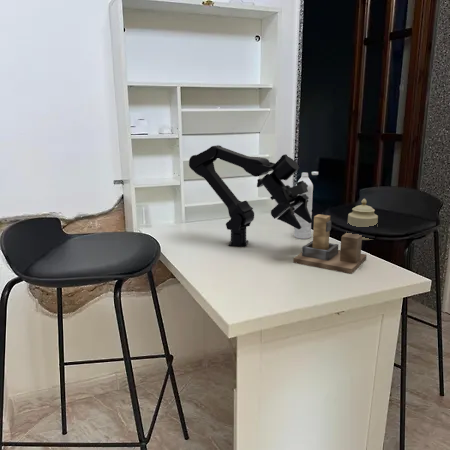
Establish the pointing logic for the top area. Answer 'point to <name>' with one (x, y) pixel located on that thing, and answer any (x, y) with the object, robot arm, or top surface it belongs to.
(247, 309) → the top surface
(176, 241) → the top surface
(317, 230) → the beige block
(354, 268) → the wooden fixture board
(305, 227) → the water bottle
